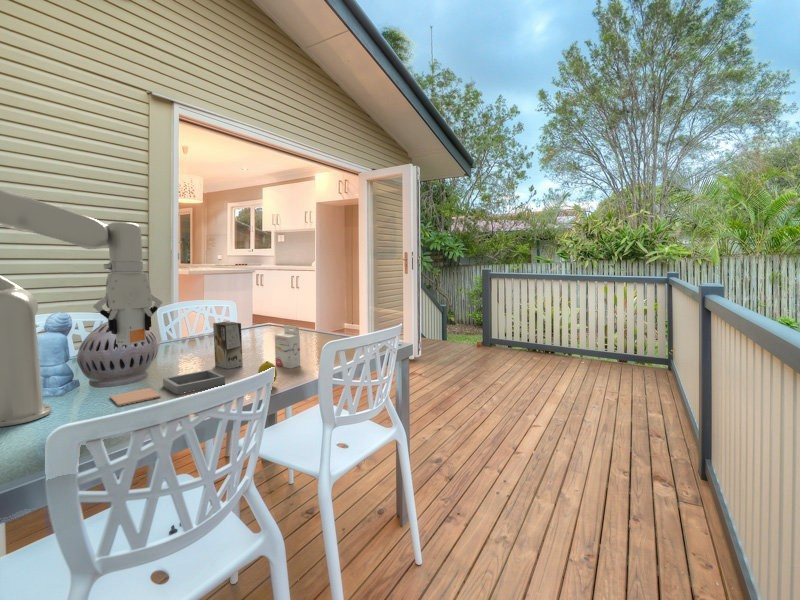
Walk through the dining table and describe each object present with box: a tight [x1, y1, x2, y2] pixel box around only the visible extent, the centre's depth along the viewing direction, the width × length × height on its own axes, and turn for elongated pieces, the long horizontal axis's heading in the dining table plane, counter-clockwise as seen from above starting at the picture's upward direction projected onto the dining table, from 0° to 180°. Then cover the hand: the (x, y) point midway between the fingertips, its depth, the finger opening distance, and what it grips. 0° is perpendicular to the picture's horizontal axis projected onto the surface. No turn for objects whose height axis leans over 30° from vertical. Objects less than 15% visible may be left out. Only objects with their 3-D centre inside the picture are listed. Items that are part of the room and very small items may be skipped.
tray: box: [162, 369, 226, 396], centre depth 127 cm, size 14×12×2 cm
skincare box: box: [115, 302, 147, 346], centre depth 113 cm, size 6×4×12 cm
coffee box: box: [212, 320, 244, 370], centre depth 150 cm, size 9×6×16 cm
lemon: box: [257, 360, 278, 383], centre depth 125 cm, size 6×6×8 cm
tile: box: [109, 387, 161, 407], centre depth 115 cm, size 10×10×1 cm
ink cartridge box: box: [274, 324, 301, 369], centre depth 150 cm, size 9×5×15 cm, turn 58°
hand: (130, 331), depth 113 cm, fingers closed on skincare box, 7 cm apart
